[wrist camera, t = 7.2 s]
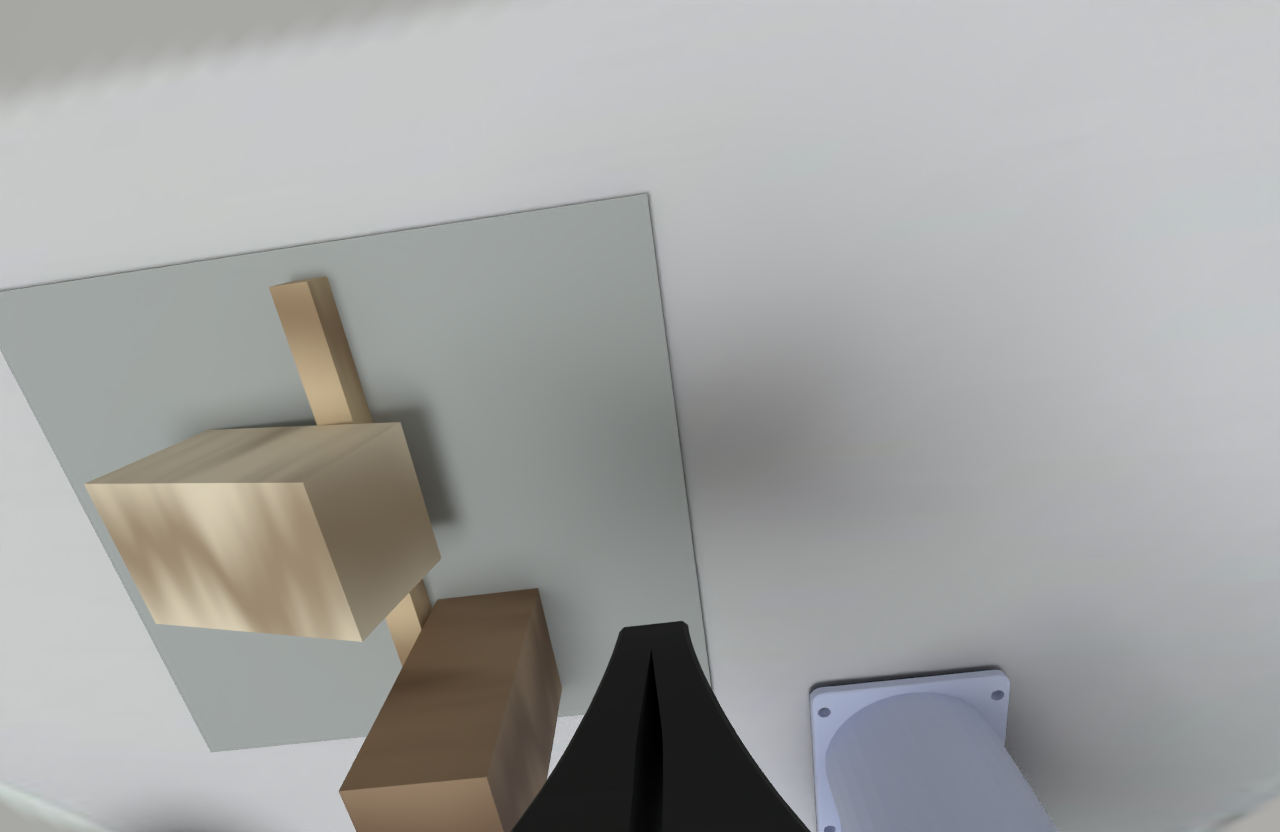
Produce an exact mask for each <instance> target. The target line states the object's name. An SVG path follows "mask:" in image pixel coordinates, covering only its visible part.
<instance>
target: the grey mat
mask: <svg viewBox="0 0 1280 832" xmlns="http://www.w3.org/2000/svg"><path fill="white" fill-rule="evenodd" d="M324 276H327V278H328V281H329V285H330V288H331V291H332V294H333V297H334V300H335V303H336V307H337V310H338V313H339V316H340V319H341V322H342V326H343V329H344V332H345V335H346V338H347V341H348V344H349V348H350V351H351V354H352V357H353V360H354V363H355V367H356V370H357V373H358V376H359V379H360V382H361V385H362V389H363V392H364V395H365V398H366V401H367V404H368V408H369V411H370V414H371V417H372V420H373V423H391V422H401V426H402V429H403V432H404V436H405V439H406V442H407V446H408V449H409V452H410V456H411V459H412V462H413V466H414V469H415V472H416V476H417V479H418V482H419V486H420V489H421V492H422V496H423V499H424V502H425V506H426V509H427V512H428V516H429V519H430V522H431V526H432V529H433V532H434V535H435V539H436V542H437V545H438V549H439V552H440V555H441V560H440V561H439V562H438V563H437V564H436V565H435V566H434V567H433V568H432V569H431V570H430V571H429V572H428V573H427V574H426V576H425V577H424V578H423V581H424V584H425V587H426V591H427V594H428V597H429V600H430V603H431V606H432V608H433V607H434V605H435V603H436V601H437V599H446V598H454V597H463V596H472V595H481V594H489V593H498V592H507V591H516V590H524V589H533V588H538V590H539V594H540V598H541V602H542V606H543V611H544V615H545V619H546V623H547V627H548V631H549V636H550V640H551V644H552V648H553V652H554V656H555V661H556V665H557V669H558V673H559V677H560V681H561V686H562V692H561V698H560V704H559V710H558V716H557V717H563V716H573V715H583V714H586V712H587V710H588V708H589V706H590V703H591V701H592V699H593V697H594V695H595V693H596V691H597V688H598V686H599V684H600V682H601V680H602V678H603V675H604V673H605V670H606V668H607V666H608V663H609V661H610V658H611V655H612V653H613V650H614V647H615V644H616V641H617V638H618V635H619V632H620V631H621V630H622V629H623V628H624V627H630V626H639V625H648V624H657V623H666V622H676V621H683V622H685V623H686V624H688V627H689V633H690V637H691V641H692V644H693V647H694V650H695V653H696V656H697V658H698V661H699V663H700V665H701V668H702V670H703V672H704V674H705V677H706V679H707V681H708V683H709V685H710V687H711V682H710V674H709V666H708V658H707V651H706V643H705V635H704V628H703V620H702V612H701V605H700V597H699V589H698V581H697V574H696V566H695V558H694V551H693V543H692V535H691V528H690V520H689V512H688V504H687V497H686V489H685V481H684V474H683V466H682V458H681V450H680V443H679V435H678V427H677V420H676V412H675V404H674V397H673V389H672V381H671V373H670V366H669V358H668V350H667V343H666V335H665V327H664V320H663V312H662V304H661V296H660V289H659V281H658V273H657V266H656V258H655V250H654V243H653V235H652V227H651V219H650V212H649V204H648V196H647V194H641V195H634V196H628V197H621V198H615V199H608V200H601V201H595V202H588V203H582V204H575V205H569V206H562V207H555V208H549V209H542V210H536V211H529V212H522V213H516V214H509V215H503V216H496V217H489V218H483V219H476V220H470V221H463V222H456V223H450V224H443V225H437V226H430V227H423V228H417V229H410V230H404V231H397V232H391V233H384V234H377V235H371V236H364V237H358V238H351V239H344V240H338V241H331V242H325V243H318V244H311V245H305V246H298V247H292V248H285V249H278V250H272V251H265V252H259V253H252V254H245V255H239V256H232V257H226V258H219V259H213V260H206V261H199V262H193V263H186V264H180V265H173V266H166V267H160V268H153V269H147V270H140V271H133V272H127V273H120V274H114V275H107V276H100V277H94V278H87V279H81V280H74V281H67V282H61V283H54V284H48V285H41V286H35V287H28V288H21V289H15V290H8V291H2V292H0V350H1V352H2V354H3V356H4V358H5V360H6V362H7V364H8V366H9V367H10V369H11V371H12V373H13V375H14V377H15V379H16V381H17V383H18V385H19V387H20V388H21V390H22V392H23V394H24V396H25V398H26V400H27V402H28V404H29V406H30V408H31V409H32V411H33V413H34V415H35V417H36V419H37V421H38V423H39V425H40V427H41V429H42V430H43V432H44V434H45V436H46V438H47V440H48V442H49V444H50V446H51V448H52V450H53V451H54V453H55V455H56V457H57V459H58V461H59V463H60V465H61V467H62V469H63V471H64V472H65V474H66V476H67V478H68V480H69V482H70V484H71V486H72V488H73V490H74V492H75V493H76V495H77V497H78V499H79V501H80V503H81V505H82V507H83V509H84V511H85V513H86V515H87V516H88V518H89V520H90V522H91V524H92V526H93V528H94V530H95V532H96V534H97V536H98V537H99V539H100V541H101V543H102V545H103V547H104V549H105V551H106V553H107V555H108V557H109V558H110V560H111V562H112V564H113V566H114V568H115V570H116V572H117V574H118V576H119V578H120V579H121V581H122V583H123V585H124V587H125V589H126V591H127V593H128V595H129V597H130V599H131V600H132V602H133V604H134V606H135V608H136V610H137V612H138V614H139V616H140V618H141V620H142V621H143V623H144V625H145V627H146V629H147V631H148V633H149V635H150V637H151V639H152V641H153V643H154V644H155V646H156V648H157V650H158V652H159V654H160V656H161V658H162V660H163V662H164V664H165V665H166V667H167V669H168V671H169V673H170V675H171V677H172V679H173V681H174V683H175V685H176V686H177V688H178V690H179V692H180V694H181V696H182V698H183V700H184V702H185V704H186V706H187V707H188V709H189V711H190V713H191V715H192V717H193V719H194V721H195V723H196V725H197V727H198V728H199V730H200V732H201V734H202V736H203V738H204V740H205V742H206V744H207V746H208V748H209V749H210V751H211V752H219V751H228V750H238V749H248V748H258V747H268V746H278V745H288V744H297V743H307V742H317V741H327V740H337V739H347V738H357V737H366V736H367V735H368V733H369V731H370V730H371V728H372V726H373V724H374V722H375V720H376V718H377V716H378V714H379V712H380V710H381V708H382V706H383V704H384V702H385V700H386V698H387V696H388V694H389V692H390V690H391V689H392V687H393V685H394V683H395V681H396V679H397V677H398V675H399V673H400V671H401V669H402V665H401V662H400V659H399V656H398V653H397V650H396V647H395V645H394V642H393V639H392V636H391V633H390V630H389V628H388V625H387V622H386V619H384V620H383V621H382V622H381V623H380V624H379V625H378V626H377V627H376V628H375V629H374V630H373V631H372V632H371V633H370V635H369V636H368V637H367V638H366V639H365V640H364V641H363V642H358V641H347V640H335V639H324V638H313V637H301V636H290V635H278V634H267V633H256V632H244V631H233V630H221V629H210V628H199V627H187V626H176V625H164V624H156V623H155V621H154V619H153V617H152V615H151V613H150V611H149V610H148V608H147V606H146V604H145V602H144V600H143V598H142V596H141V594H140V592H139V590H138V588H137V586H136V584H135V582H134V580H133V578H132V577H131V575H130V573H129V571H128V569H127V567H126V565H125V563H124V561H123V559H122V557H121V555H120V553H119V551H118V549H117V547H116V545H115V543H114V542H113V540H112V538H111V536H110V534H109V532H108V530H107V528H106V526H105V524H104V522H103V520H102V518H101V516H100V514H99V512H98V510H97V509H96V507H95V505H94V503H93V501H92V499H91V497H90V495H89V493H88V491H87V489H86V487H85V485H84V484H85V483H87V482H89V481H92V480H94V479H96V478H99V477H101V476H103V475H105V474H108V473H110V472H112V471H115V470H117V469H119V468H121V467H124V466H126V465H128V464H131V463H133V462H135V461H138V460H140V459H142V458H144V457H147V456H149V455H151V454H154V453H156V452H158V451H160V450H163V449H165V448H167V447H170V446H172V445H174V444H177V443H179V442H181V441H183V440H186V439H188V438H190V437H193V436H195V435H197V434H199V433H202V432H204V431H206V430H218V429H243V428H267V427H292V426H317V423H316V420H315V417H314V415H313V412H312V409H311V406H310V403H309V400H308V398H307V395H306V392H305V389H304V386H303V383H302V381H301V378H300V375H299V372H298V369H297V366H296V363H295V361H294V358H293V355H292V352H291V349H290V346H289V344H288V341H287V338H286V335H285V332H284V329H283V327H282V324H281V321H280V318H279V315H278V312H277V310H276V307H275V304H274V301H273V298H272V295H271V293H270V290H269V287H271V286H275V285H279V284H283V283H287V282H291V281H297V280H304V279H311V278H317V277H324Z"/></svg>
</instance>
